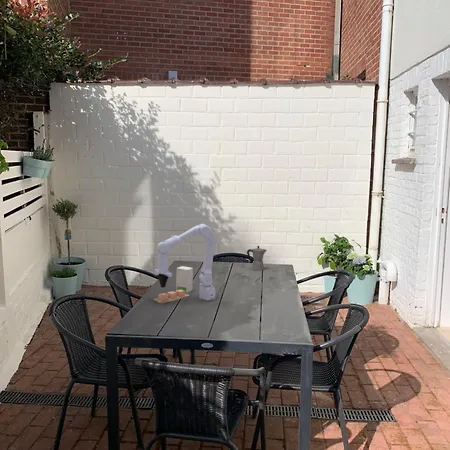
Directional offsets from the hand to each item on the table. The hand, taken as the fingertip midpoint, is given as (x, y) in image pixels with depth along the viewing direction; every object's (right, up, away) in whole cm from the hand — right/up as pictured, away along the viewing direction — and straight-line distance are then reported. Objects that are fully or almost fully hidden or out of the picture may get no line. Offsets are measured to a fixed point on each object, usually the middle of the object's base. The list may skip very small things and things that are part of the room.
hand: (163, 287), depth 270 cm
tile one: (+9, -7, +9) cm, 14 cm away
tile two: (+4, -7, +5) cm, 10 cm away
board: (+4, -9, +5) cm, 11 cm away
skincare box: (+10, -6, +22) cm, 26 cm away
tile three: (0, -8, +1) cm, 8 cm away
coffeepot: (+58, +2, +86) cm, 104 cm away
